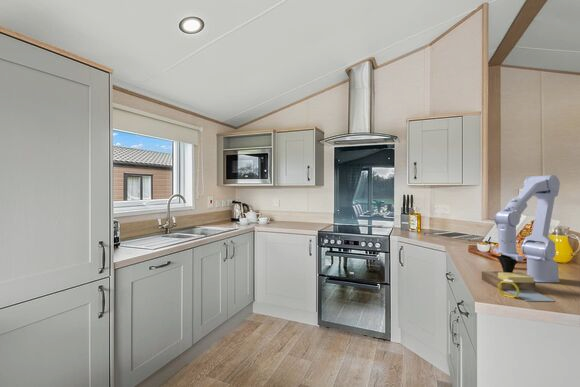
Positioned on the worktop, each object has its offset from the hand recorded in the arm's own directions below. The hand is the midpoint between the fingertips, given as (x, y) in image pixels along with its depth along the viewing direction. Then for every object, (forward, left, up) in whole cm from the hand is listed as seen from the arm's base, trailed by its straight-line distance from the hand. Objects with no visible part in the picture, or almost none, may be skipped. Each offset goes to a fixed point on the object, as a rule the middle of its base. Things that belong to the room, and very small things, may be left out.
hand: (507, 274), depth 112 cm
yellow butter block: (0, +4, -1) cm, 4 cm away
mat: (0, +11, -4) cm, 12 cm away
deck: (0, -1, -4) cm, 4 cm away
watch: (+7, +12, -5) cm, 15 cm away
